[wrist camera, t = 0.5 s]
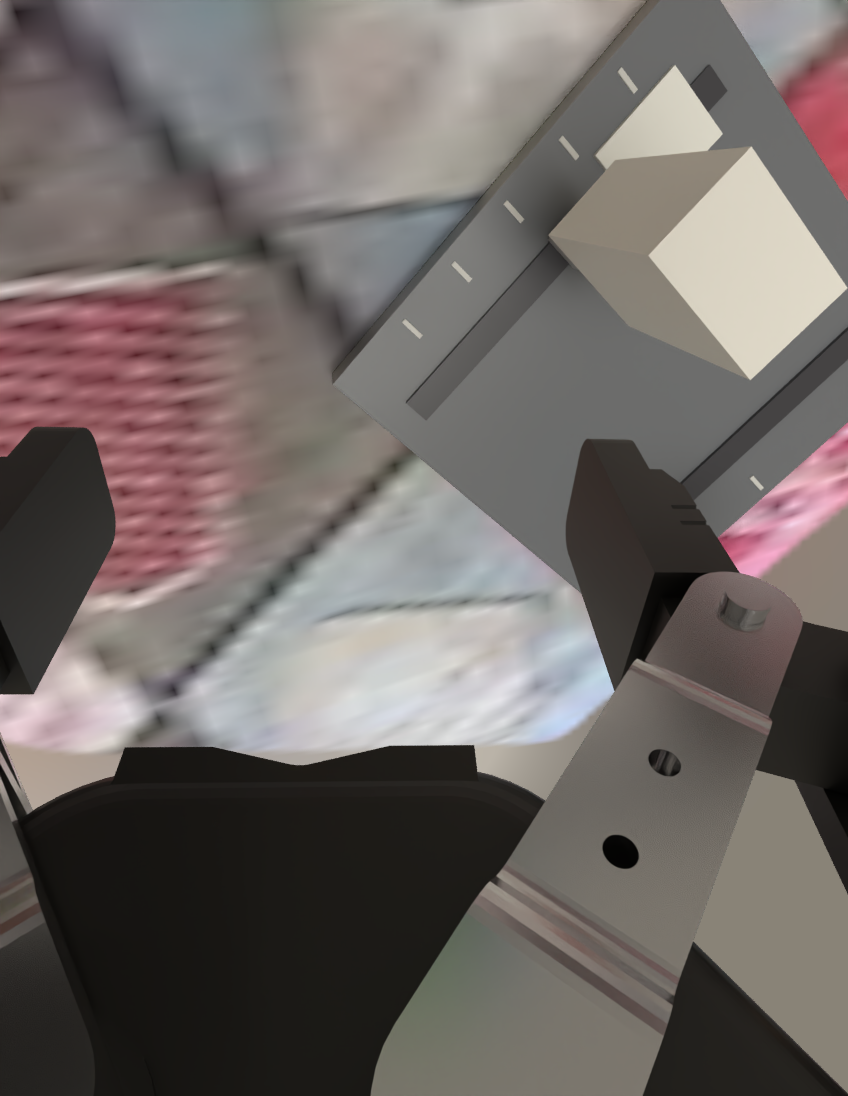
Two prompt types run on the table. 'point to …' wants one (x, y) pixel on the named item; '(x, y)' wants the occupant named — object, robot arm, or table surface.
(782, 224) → the fader cream
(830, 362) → the console board
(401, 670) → the table surface
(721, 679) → the robot arm
